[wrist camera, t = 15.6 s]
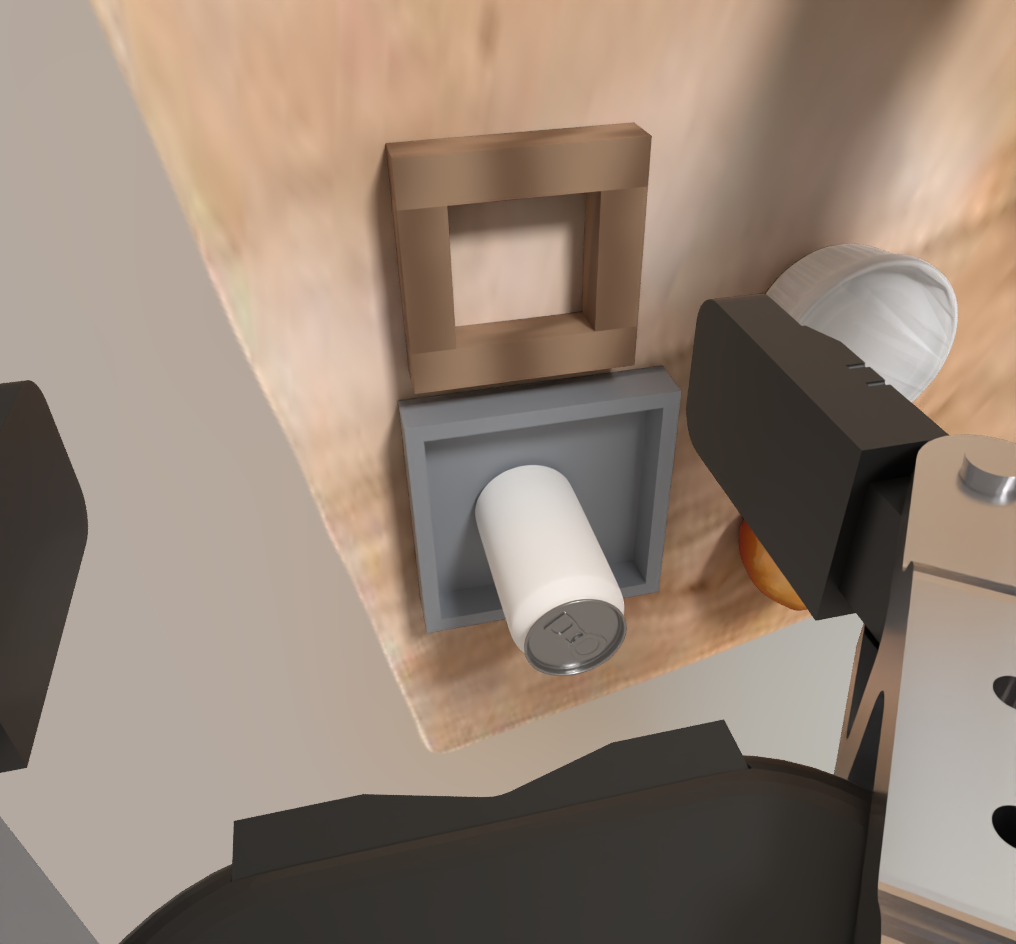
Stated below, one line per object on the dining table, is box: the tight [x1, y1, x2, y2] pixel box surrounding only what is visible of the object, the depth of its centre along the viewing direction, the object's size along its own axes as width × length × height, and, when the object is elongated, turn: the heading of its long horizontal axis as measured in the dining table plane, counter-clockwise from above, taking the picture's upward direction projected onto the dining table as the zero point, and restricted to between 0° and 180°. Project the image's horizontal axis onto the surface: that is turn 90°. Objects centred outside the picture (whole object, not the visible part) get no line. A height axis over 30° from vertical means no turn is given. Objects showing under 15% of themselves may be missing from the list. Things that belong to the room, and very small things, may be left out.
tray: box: [398, 366, 681, 633], centre depth 54 cm, size 16×16×3 cm
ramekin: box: [766, 244, 958, 403], centre depth 50 cm, size 11×11×5 cm
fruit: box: [739, 520, 807, 610], centre depth 60 cm, size 8×8×8 cm
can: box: [475, 465, 627, 676], centre depth 50 cm, size 6×6×12 cm
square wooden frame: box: [386, 123, 652, 394], centre depth 44 cm, size 12×12×2 cm
